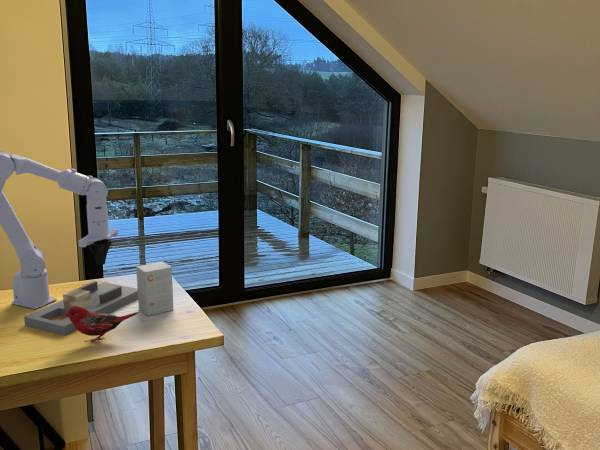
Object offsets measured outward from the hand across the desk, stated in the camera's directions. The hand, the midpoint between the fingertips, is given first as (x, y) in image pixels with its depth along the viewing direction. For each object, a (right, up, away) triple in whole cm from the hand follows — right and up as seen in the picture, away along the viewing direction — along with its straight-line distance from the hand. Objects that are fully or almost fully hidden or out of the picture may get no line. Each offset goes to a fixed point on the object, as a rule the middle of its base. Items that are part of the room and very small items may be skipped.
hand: (100, 264), depth 175 cm
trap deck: (0, -12, -10) cm, 16 cm away
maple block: (-2, -11, -14) cm, 18 cm away
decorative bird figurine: (+11, -17, -28) cm, 35 cm away
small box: (+19, -13, -9) cm, 24 cm away
